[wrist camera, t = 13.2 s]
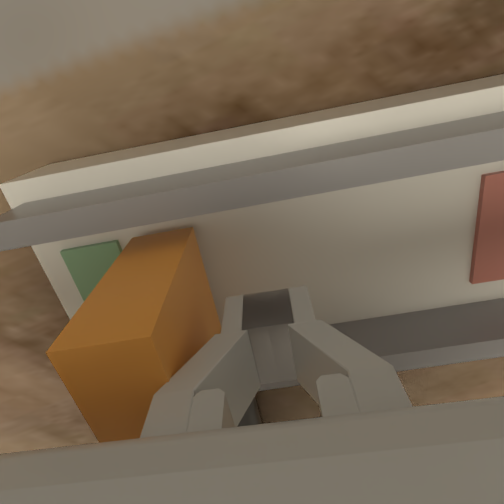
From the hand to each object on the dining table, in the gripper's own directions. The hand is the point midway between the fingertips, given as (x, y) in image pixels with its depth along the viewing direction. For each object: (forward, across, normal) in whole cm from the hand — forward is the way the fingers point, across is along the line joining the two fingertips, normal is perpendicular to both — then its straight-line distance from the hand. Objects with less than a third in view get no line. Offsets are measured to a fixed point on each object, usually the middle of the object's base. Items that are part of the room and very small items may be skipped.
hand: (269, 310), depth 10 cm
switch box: (+6, -1, +6) cm, 8 cm away
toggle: (+2, +3, 0) cm, 4 cm away
